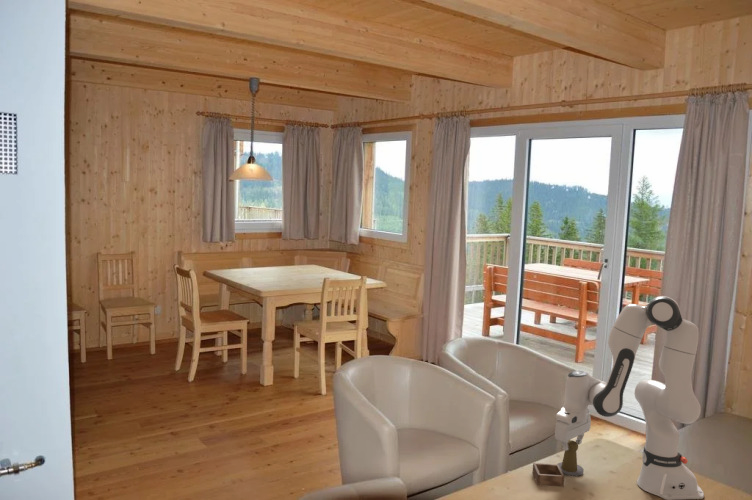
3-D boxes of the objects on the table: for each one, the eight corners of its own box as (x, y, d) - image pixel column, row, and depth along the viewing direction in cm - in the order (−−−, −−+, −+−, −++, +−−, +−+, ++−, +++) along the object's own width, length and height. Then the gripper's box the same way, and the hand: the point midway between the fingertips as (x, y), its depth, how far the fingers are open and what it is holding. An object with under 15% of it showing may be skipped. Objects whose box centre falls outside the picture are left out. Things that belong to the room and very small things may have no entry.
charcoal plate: (579, 465, 247) (579, 462, 247) (586, 477, 237) (586, 474, 237) (554, 463, 247) (554, 461, 247) (560, 475, 237) (560, 473, 237)
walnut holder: (557, 474, 238) (558, 464, 238) (563, 486, 229) (564, 476, 228) (532, 472, 239) (533, 462, 238) (537, 485, 229) (538, 474, 229)
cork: (578, 473, 238) (580, 445, 237) (561, 471, 239) (564, 443, 238) (576, 466, 244) (578, 439, 243) (560, 464, 245) (562, 437, 244)
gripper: (581, 404, 249) (578, 437, 250) (553, 416, 235) (550, 450, 237) (596, 409, 244) (593, 442, 246) (568, 421, 230) (565, 456, 232)
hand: (572, 446), depth 241 cm, fingers open, 8 cm apart
